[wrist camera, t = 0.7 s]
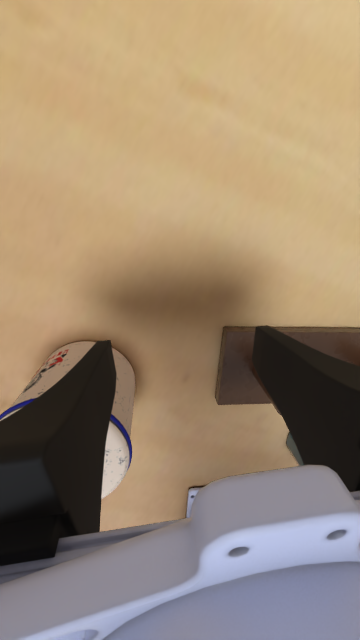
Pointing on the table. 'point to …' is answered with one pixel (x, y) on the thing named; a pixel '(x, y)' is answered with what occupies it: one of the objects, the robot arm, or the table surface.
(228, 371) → the cup stand
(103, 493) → the speckled cream mug
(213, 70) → the table surface
